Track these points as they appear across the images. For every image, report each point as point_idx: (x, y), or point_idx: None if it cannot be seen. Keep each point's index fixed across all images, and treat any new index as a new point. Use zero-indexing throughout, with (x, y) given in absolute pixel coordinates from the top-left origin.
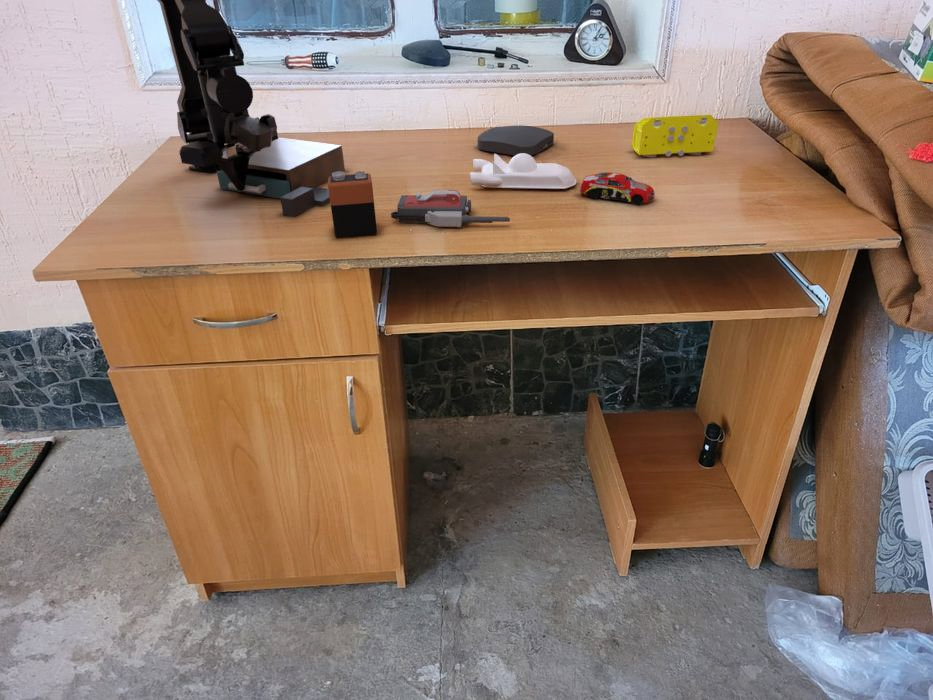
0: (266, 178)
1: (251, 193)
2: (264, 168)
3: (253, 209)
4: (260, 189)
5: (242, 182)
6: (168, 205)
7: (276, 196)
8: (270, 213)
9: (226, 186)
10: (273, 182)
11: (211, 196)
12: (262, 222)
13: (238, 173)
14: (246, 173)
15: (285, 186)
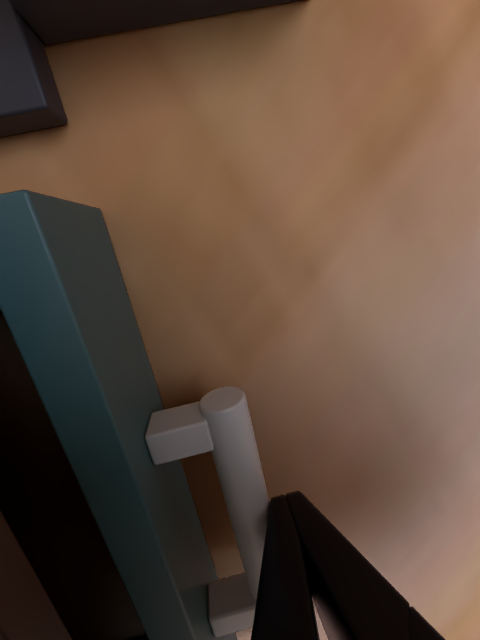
0: (100, 479)
1: (190, 494)
2: (27, 621)
3: (338, 291)
4: (215, 403)
5: (304, 536)
6: (473, 614)
7: (132, 319)
8: (332, 130)
9: (232, 637)
10: (100, 365)
11: None
12: (475, 34)
13: (399, 626)
14: (261, 618)
15: (53, 205)
